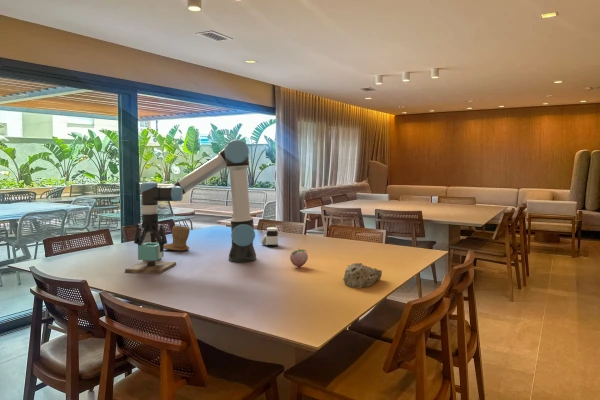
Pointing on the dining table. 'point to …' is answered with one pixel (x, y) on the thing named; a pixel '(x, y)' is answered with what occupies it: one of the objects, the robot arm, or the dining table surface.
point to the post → (151, 262)
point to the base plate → (150, 267)
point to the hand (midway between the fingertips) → (151, 257)
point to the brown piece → (178, 239)
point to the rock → (361, 275)
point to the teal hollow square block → (148, 251)
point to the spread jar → (270, 237)
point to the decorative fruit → (299, 257)
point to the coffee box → (151, 239)
